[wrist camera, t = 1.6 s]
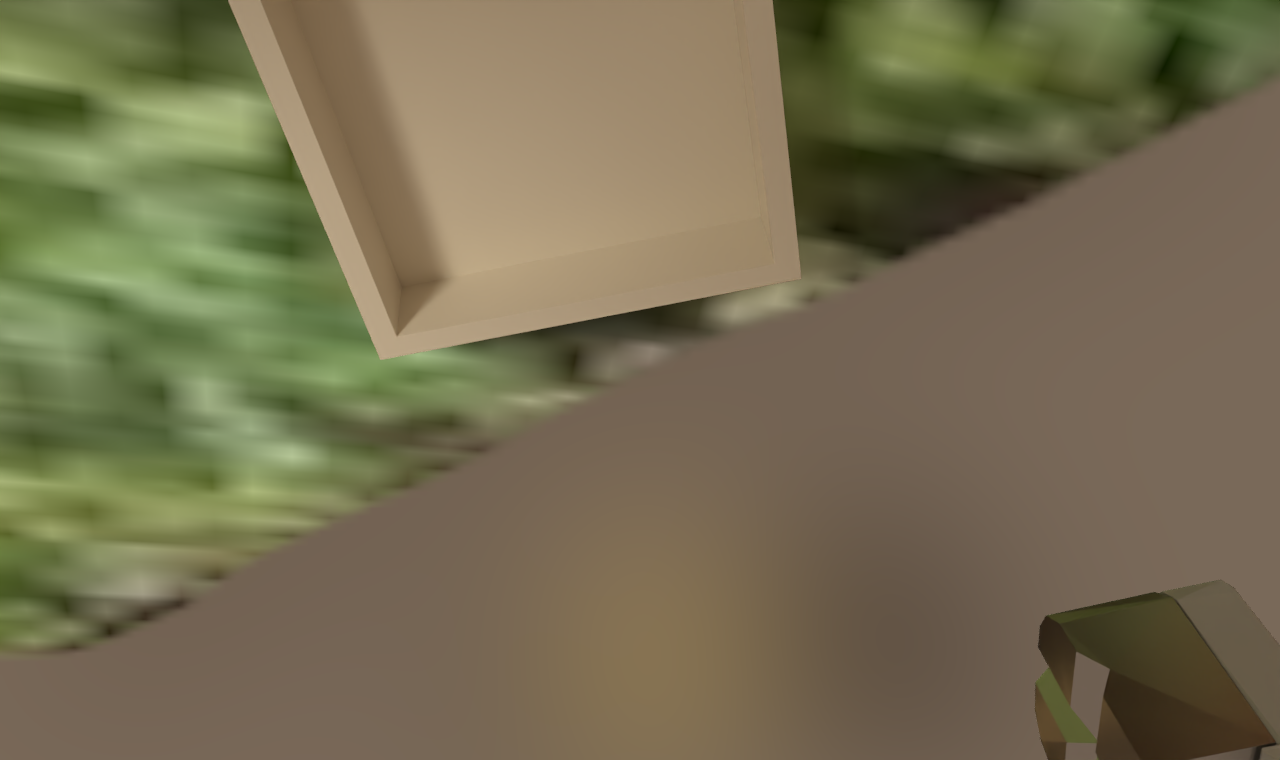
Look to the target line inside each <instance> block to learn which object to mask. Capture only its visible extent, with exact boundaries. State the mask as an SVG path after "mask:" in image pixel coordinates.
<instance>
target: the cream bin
mask: <svg viewBox="0 0 1280 760" xmlns="http://www.w3.org/2000/svg"><path fill="white" fill-rule="evenodd" d="M228 2H229V4H230V6H231V9H232V11H233V13H234V16H235V18H236V20H237V23H238V25H239V27H240V30H241V32H242V35H243V37H244V39H245V42H246V44H247V46H248V49H249V51H250V53H251V56H252V58H253V60H254V63H255V65H256V68H257V70H258V72H259V75H260V77H261V79H262V82H263V84H264V86H265V89H266V91H267V93H268V96H269V98H270V101H271V103H272V105H273V108H274V110H275V112H276V115H277V117H278V119H279V122H280V124H281V126H282V129H283V131H284V134H285V136H286V138H287V141H288V143H289V145H290V148H291V150H292V152H293V155H294V157H295V159H296V162H297V164H298V167H299V169H300V171H301V174H302V176H303V178H304V181H305V183H306V185H307V188H308V190H309V192H310V195H311V197H312V200H313V202H314V204H315V207H316V209H317V211H318V214H319V216H320V218H321V221H322V223H323V225H324V228H325V230H326V233H327V235H328V237H329V240H330V242H331V244H332V247H333V249H334V251H335V254H336V256H337V259H338V261H339V263H340V266H341V268H342V270H343V273H344V275H345V277H346V280H347V282H348V284H349V287H350V289H351V292H352V294H353V296H354V299H355V301H356V303H357V306H358V308H359V310H360V313H361V315H362V317H363V320H364V322H365V325H366V327H367V329H368V332H369V334H370V336H371V339H372V341H373V343H374V346H375V348H376V350H377V353H378V355H379V358H380V360H382V359H387V358H393V357H398V356H403V355H408V354H413V353H419V352H424V351H429V350H434V349H439V348H445V347H450V346H455V345H460V344H465V343H471V342H476V341H481V340H486V339H491V338H497V337H502V336H507V335H512V334H517V333H522V332H528V331H533V330H538V329H543V328H548V327H554V326H559V325H564V324H569V323H574V322H580V321H585V320H590V319H595V318H600V317H606V316H611V315H616V314H621V313H626V312H632V311H637V310H642V309H647V308H652V307H658V306H663V305H668V304H673V303H678V302H684V301H689V300H694V299H699V298H704V297H709V296H715V295H720V294H725V293H730V292H735V291H741V290H746V289H751V288H756V287H761V286H767V285H772V284H777V283H782V282H787V281H793V280H798V279H802V278H801V269H800V259H799V250H798V240H797V230H796V221H795V211H794V202H793V192H792V182H791V173H790V163H789V154H788V144H787V134H786V125H785V115H784V106H783V96H782V86H781V77H780V67H779V58H778V48H777V38H776V29H775V19H774V10H773V0H228Z"/></svg>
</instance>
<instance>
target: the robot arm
mask: <svg viewBox="0 0 1280 760" xmlns="http://www.w3.org/2000/svg"><path fill="white" fill-rule="evenodd" d="M1038 648H1039V650H1040V652H1041V654H1042V655H1043V657H1044V659H1045V661H1046V663H1047V665H1048V666H1049V668H1048V669H1047V670H1046V671H1045V672H1044V673H1043V674H1042V676H1041V677H1040V678H1039V679H1038V680H1037V681H1036V683H1035V714H1036V719H1037V724H1038V729H1039V734H1040V739H1041V742H1042V745H1043V748H1044V750H1045V753H1046V756H1047V759H1048V760H1280V645H1279V644H1278V643H1277V641H1276V640H1275V639H1274V638H1273V637H1272V635H1271V634H1270V633H1269V631H1268V630H1267V629H1266V628H1265V626H1264V625H1263V624H1262V622H1261V621H1260V620H1259V619H1258V617H1257V616H1256V615H1255V614H1254V612H1253V611H1252V610H1251V609H1250V607H1249V606H1248V605H1247V604H1246V602H1245V601H1244V600H1243V599H1242V597H1241V596H1240V595H1239V593H1238V592H1237V591H1236V590H1235V588H1234V587H1232V586H1231V585H1229V584H1227V583H1225V582H1224V581H1222V580H1217V581H1212V582H1207V583H1202V584H1197V585H1192V586H1187V587H1183V588H1178V589H1173V590H1168V591H1163V592H1161V593H1156V592H1153V593H1148V594H1143V595H1139V596H1135V597H1130V598H1125V599H1120V600H1116V601H1111V602H1107V603H1102V604H1098V605H1093V606H1088V607H1083V608H1079V609H1075V610H1070V611H1065V612H1061V613H1056V614H1051V615H1047V616H1045V618H1044V620H1043V621H1042V623H1041V625H1040V629H1039V642H1038Z"/></svg>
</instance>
